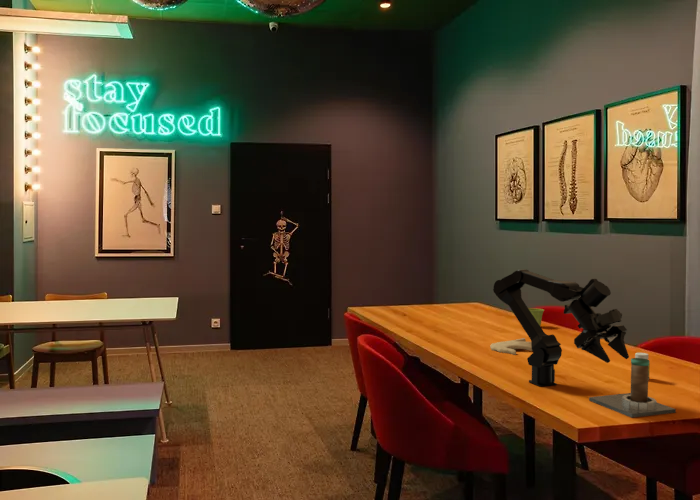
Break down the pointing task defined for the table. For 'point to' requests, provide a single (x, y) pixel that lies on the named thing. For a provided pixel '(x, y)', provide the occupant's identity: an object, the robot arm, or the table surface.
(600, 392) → the table surface
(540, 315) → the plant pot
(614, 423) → the table surface
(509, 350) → the hand model
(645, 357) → the supplement bottle
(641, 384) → the travel tumbler
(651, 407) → the hub
